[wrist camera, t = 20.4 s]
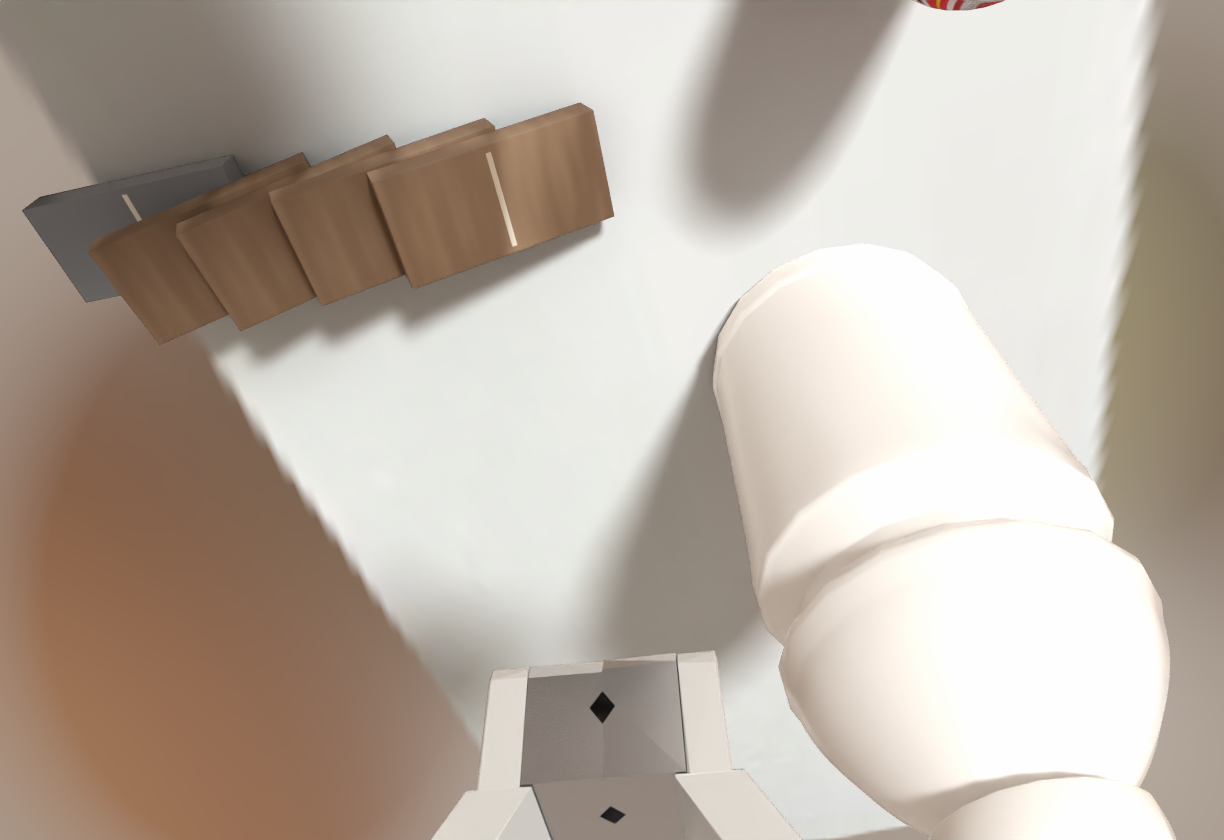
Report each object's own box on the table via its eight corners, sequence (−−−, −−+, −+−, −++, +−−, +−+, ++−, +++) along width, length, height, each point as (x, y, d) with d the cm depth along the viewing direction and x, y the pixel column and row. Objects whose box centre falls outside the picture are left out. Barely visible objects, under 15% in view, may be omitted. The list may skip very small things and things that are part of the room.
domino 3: (514, 218, 40) (318, 292, 38) (484, 117, 37) (268, 192, 35) (524, 229, 39) (322, 306, 37) (494, 126, 36) (271, 203, 33)
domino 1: (353, 245, 41) (161, 330, 39) (302, 152, 37) (93, 240, 36) (357, 257, 39) (159, 345, 38) (305, 161, 36) (88, 253, 35)
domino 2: (431, 231, 40) (239, 317, 38) (387, 134, 37) (176, 223, 35) (438, 241, 39) (240, 331, 37) (393, 142, 36) (175, 235, 34)
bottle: (760, 477, 51) (887, 1006, 29) (668, 308, 43) (746, 852, 21) (986, 393, 47) (1332, 927, 25) (930, 191, 39) (1358, 706, 17)
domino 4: (601, 205, 39) (406, 275, 37) (579, 102, 36) (366, 172, 34) (614, 216, 38) (413, 289, 36) (593, 110, 35) (372, 183, 33)
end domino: (281, 249, 41) (101, 286, 42) (233, 153, 38) (40, 196, 39) (272, 263, 40) (85, 302, 41) (221, 166, 36) (21, 210, 38)
